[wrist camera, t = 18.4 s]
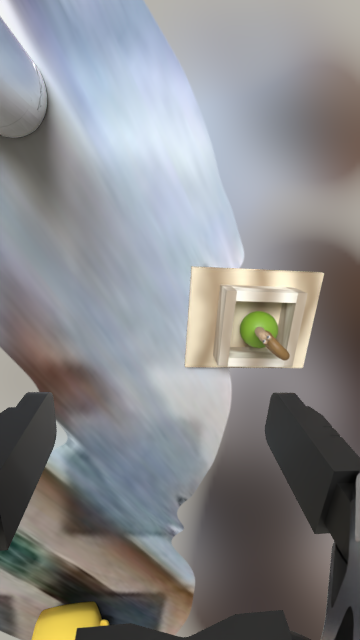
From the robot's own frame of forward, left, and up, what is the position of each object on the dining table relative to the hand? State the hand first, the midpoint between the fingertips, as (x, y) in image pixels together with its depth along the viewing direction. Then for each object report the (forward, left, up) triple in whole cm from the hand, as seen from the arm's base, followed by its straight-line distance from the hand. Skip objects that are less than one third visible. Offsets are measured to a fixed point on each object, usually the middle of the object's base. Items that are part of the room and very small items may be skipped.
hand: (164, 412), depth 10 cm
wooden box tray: (+15, -7, -32) cm, 36 cm away
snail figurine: (+15, -7, -31) cm, 35 cm away
